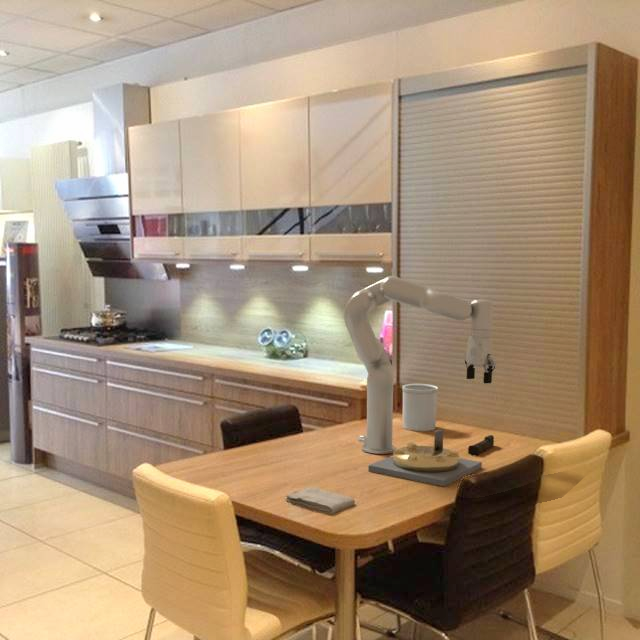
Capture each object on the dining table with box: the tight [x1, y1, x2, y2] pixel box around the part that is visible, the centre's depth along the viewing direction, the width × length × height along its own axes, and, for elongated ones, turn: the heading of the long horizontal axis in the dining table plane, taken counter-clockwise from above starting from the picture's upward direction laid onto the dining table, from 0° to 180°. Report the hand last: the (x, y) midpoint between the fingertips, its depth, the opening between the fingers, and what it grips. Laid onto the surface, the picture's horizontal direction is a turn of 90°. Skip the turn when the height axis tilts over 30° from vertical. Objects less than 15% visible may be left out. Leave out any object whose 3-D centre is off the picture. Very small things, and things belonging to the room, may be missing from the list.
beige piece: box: [392, 429, 460, 472], centre depth 260 cm, size 22×22×9 cm
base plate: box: [367, 455, 483, 487], centre depth 261 cm, size 28×28×2 cm
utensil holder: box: [401, 383, 439, 432], centre depth 324 cm, size 15×15×18 cm
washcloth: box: [285, 486, 356, 515], centre depth 224 cm, size 12×18×3 cm, turn 52°
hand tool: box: [467, 434, 495, 457], centre depth 288 cm, size 19×4×5 cm, turn 142°
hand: (478, 381), depth 279 cm, fingers open, 9 cm apart
